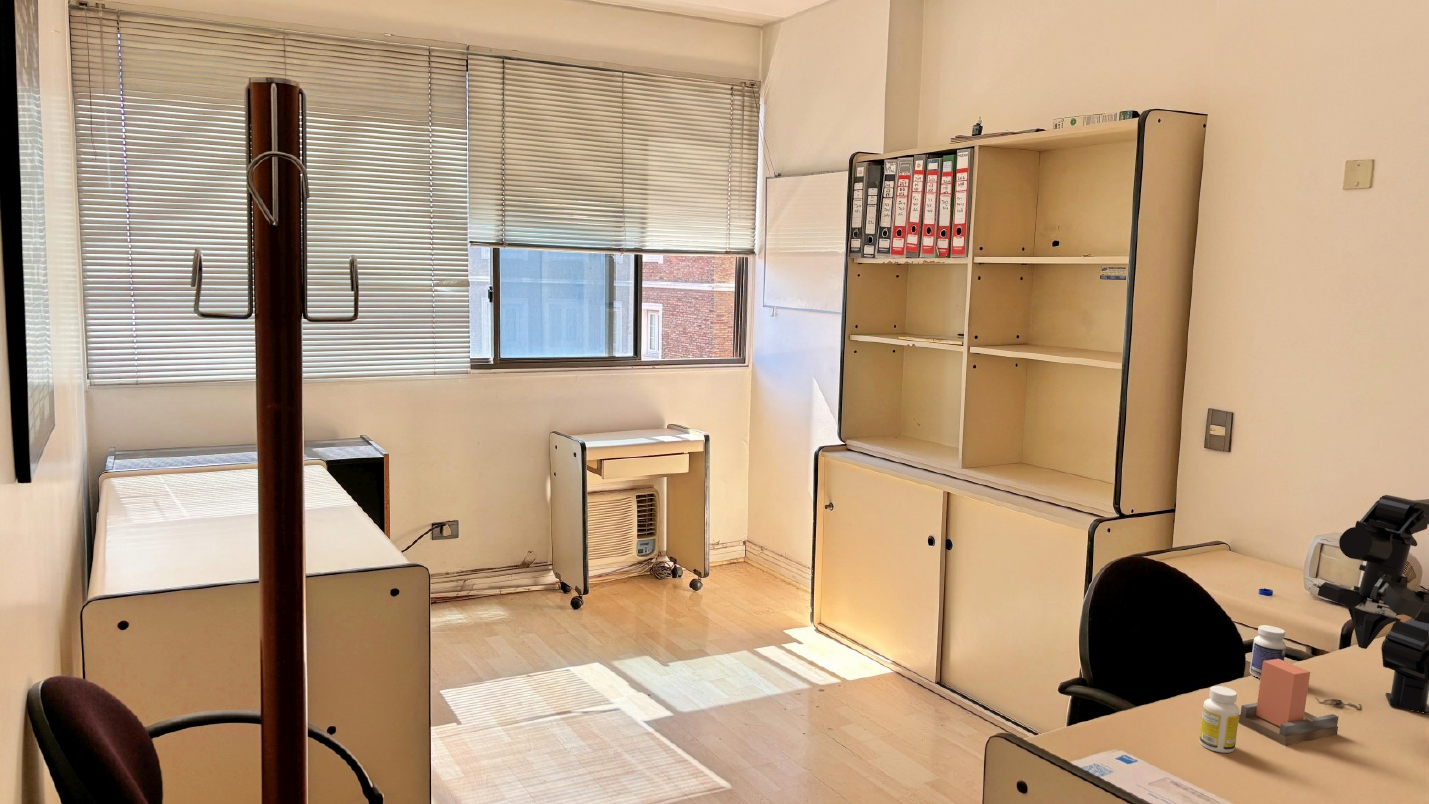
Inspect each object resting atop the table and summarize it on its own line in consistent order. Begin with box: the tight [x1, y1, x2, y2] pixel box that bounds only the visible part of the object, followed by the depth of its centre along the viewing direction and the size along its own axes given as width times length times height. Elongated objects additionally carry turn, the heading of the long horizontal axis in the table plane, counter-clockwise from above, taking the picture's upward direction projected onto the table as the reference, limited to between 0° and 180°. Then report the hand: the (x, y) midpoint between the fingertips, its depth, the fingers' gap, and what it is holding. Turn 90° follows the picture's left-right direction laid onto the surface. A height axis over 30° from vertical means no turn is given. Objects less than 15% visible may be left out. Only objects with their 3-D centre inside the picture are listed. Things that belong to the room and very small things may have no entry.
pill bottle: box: [1249, 624, 1287, 680], centre depth 202 cm, size 6×6×10 cm
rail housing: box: [1238, 702, 1339, 746], centre depth 178 cm, size 14×9×4 cm, turn 114°
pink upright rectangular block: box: [1256, 659, 1311, 727], centre depth 177 cm, size 4×6×10 cm, turn 24°
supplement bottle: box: [1199, 685, 1240, 754], centre depth 169 cm, size 5×5×10 cm
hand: (1362, 648), depth 184 cm, fingers closed
